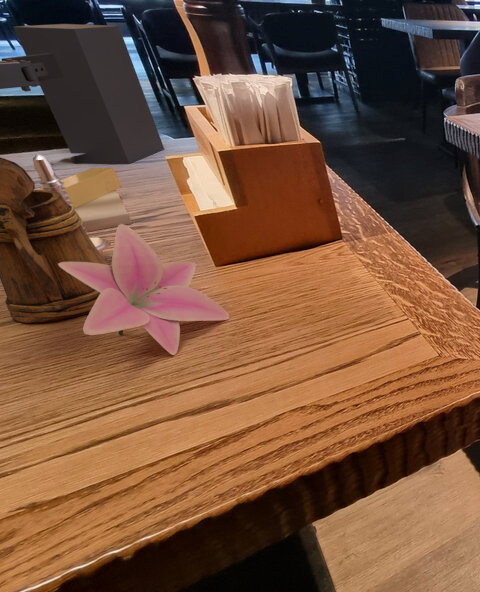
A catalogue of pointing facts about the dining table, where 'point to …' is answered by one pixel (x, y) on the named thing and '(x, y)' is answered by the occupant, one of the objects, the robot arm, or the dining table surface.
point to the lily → (143, 292)
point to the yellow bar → (90, 185)
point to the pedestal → (94, 92)
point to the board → (103, 212)
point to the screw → (61, 192)
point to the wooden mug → (41, 251)
